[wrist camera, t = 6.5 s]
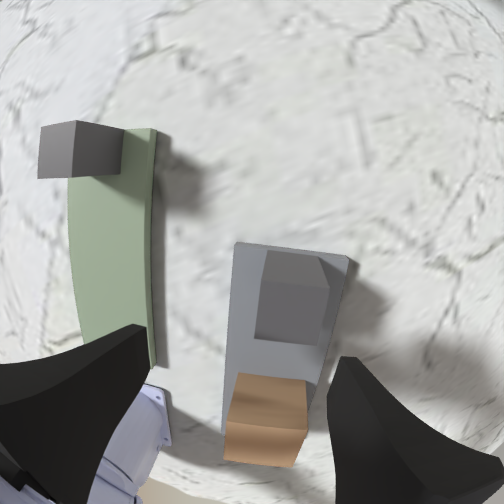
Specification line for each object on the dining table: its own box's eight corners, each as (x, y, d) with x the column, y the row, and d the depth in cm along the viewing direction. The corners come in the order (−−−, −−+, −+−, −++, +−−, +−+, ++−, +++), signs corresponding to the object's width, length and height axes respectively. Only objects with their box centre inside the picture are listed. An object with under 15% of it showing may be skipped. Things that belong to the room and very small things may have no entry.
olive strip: (156, 362, 21) (126, 409, 16) (90, 342, 22) (53, 378, 16) (157, 130, 17) (106, 116, 11) (79, 135, 17) (22, 131, 11)
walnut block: (292, 421, 20) (292, 467, 16) (234, 414, 21) (223, 459, 16) (305, 380, 19) (308, 430, 14) (238, 372, 20) (226, 420, 15)
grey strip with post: (296, 436, 22) (295, 486, 17) (223, 427, 23) (210, 476, 17) (345, 255, 17) (372, 292, 12) (236, 241, 18) (215, 273, 12)
